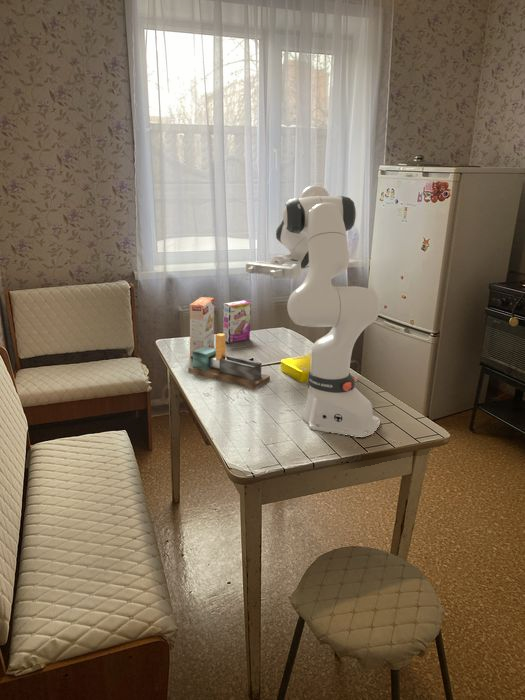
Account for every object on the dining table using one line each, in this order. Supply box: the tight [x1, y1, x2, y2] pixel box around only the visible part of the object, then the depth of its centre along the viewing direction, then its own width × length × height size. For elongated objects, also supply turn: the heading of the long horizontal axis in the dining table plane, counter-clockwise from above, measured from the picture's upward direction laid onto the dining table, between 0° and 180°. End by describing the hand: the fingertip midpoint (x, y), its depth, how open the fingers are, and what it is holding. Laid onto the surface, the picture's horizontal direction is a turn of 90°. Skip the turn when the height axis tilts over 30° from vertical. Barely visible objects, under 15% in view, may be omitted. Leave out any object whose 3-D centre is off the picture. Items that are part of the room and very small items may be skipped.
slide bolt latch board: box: [187, 346, 271, 390], centre depth 183 cm, size 28×10×8 cm, turn 58°
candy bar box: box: [222, 300, 252, 344], centre depth 221 cm, size 11×5×16 cm, turn 129°
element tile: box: [280, 353, 311, 383], centre depth 188 cm, size 15×15×5 cm
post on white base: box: [209, 333, 232, 369], centre depth 184 cm, size 12×3×12 cm, turn 58°
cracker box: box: [189, 296, 215, 358], centre depth 204 cm, size 14×6×21 cm, turn 168°
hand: (261, 272), depth 184 cm, fingers open, 8 cm apart
